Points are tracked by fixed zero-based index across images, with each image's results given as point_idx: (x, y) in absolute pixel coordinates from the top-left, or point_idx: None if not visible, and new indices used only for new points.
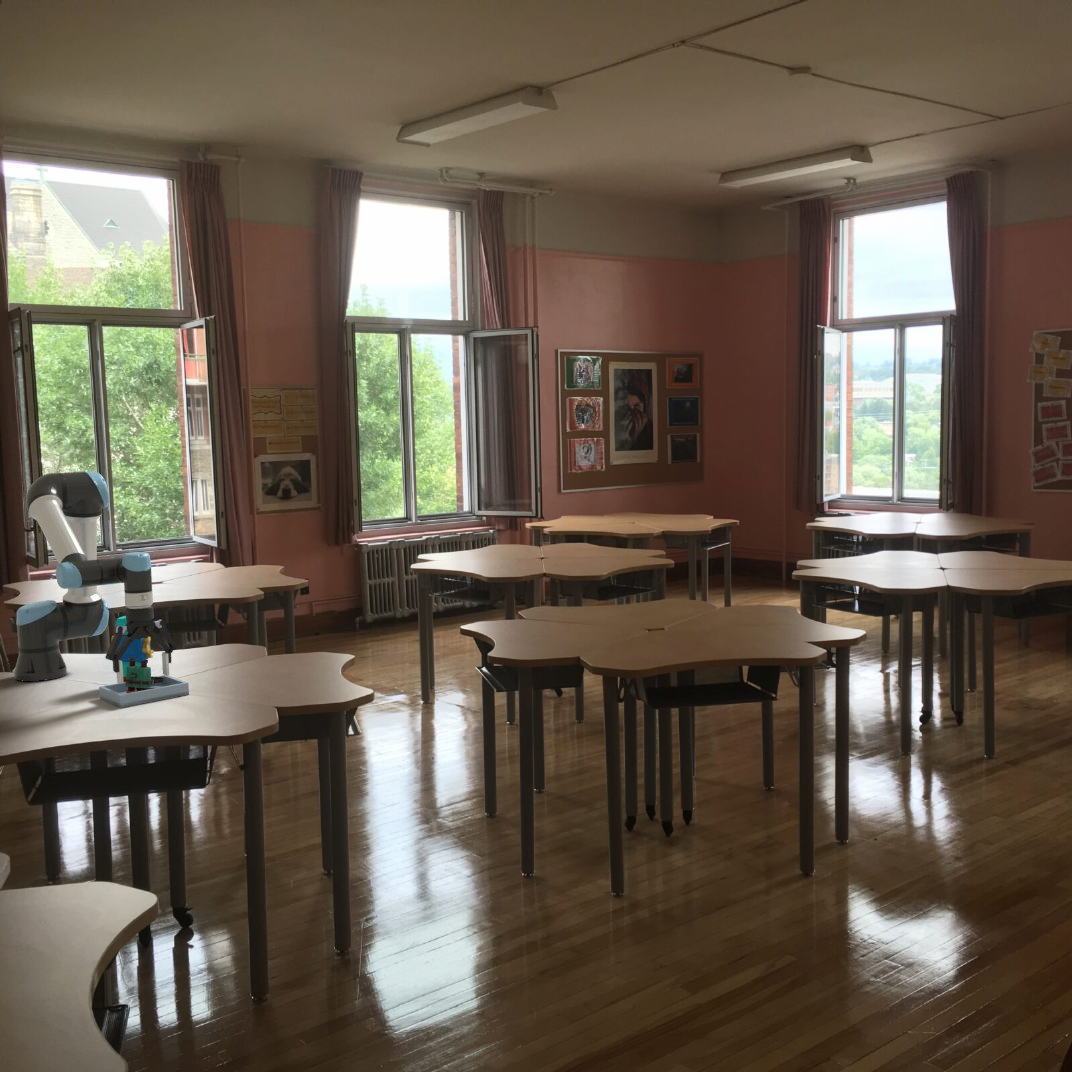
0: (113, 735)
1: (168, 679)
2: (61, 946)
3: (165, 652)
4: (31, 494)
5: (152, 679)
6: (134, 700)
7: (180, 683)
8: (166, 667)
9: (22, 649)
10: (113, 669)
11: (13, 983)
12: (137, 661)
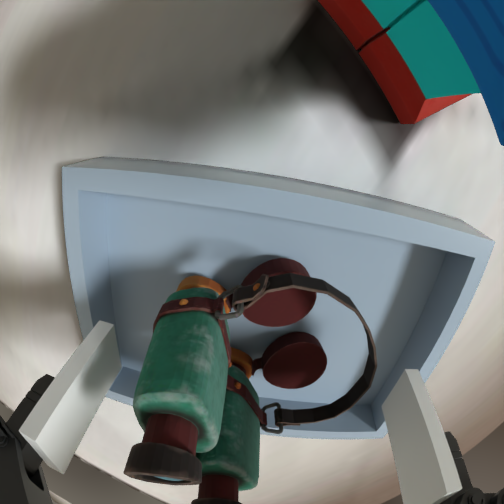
0: (77, 449)
1: (446, 304)
2: (59, 500)
3: (446, 500)
4: None
5: (266, 429)
6: None
7: (364, 431)
8: (391, 444)
9: None
10: (36, 387)
11: (50, 496)
12: (477, 71)
